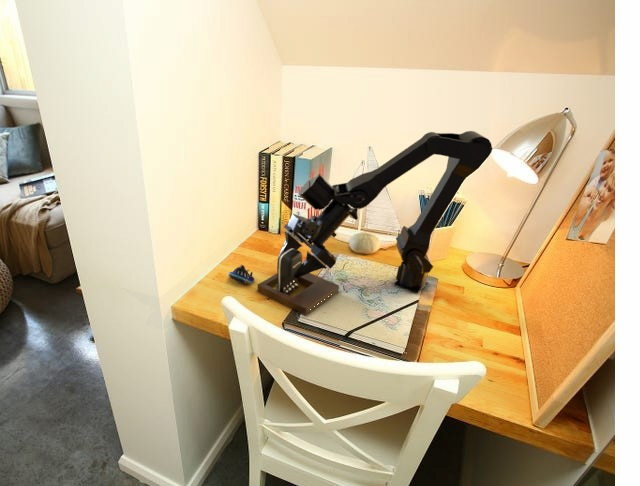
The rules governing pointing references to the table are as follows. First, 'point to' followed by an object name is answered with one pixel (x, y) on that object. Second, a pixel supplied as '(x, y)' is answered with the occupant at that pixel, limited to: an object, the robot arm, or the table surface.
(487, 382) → the table surface
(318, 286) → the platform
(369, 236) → the sea urchin shell
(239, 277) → the spaceship
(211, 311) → the table surface
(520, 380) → the table surface
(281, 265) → the battery charger
